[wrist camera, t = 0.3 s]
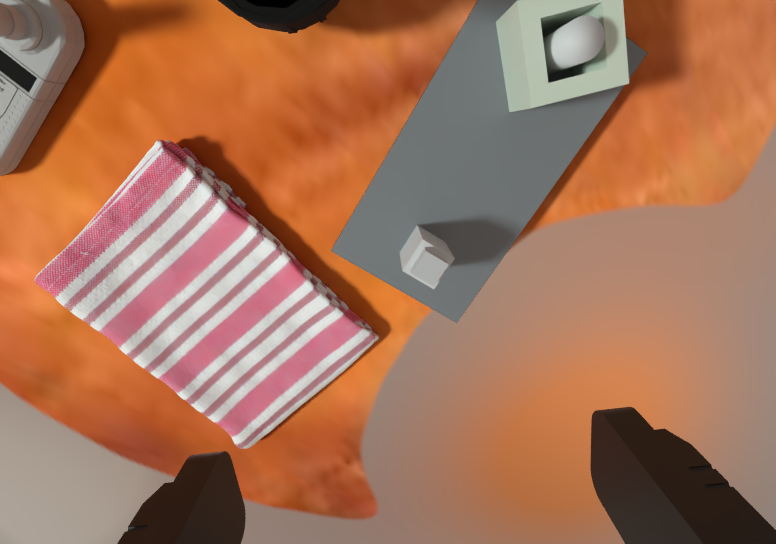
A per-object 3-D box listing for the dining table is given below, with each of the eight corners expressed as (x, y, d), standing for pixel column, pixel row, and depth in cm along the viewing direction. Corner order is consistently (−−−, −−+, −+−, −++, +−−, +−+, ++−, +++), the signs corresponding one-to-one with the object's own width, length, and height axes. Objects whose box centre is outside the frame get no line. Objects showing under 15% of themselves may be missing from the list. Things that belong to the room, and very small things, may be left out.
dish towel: (178, 130, 34) (155, 129, 31) (383, 332, 39) (383, 350, 36) (48, 274, 37) (15, 287, 34) (253, 442, 43) (243, 468, 39)
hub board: (453, 315, 38) (471, 358, 31) (333, 246, 36) (320, 274, 29) (636, 56, 32) (710, 33, 25) (503, -44, 30) (541, -100, 23)
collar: (509, 112, 32) (531, 108, 27) (495, 21, 30) (517, 0, 26) (592, 91, 32) (629, 83, 27) (583, -2, 30) (621, -28, 25)
